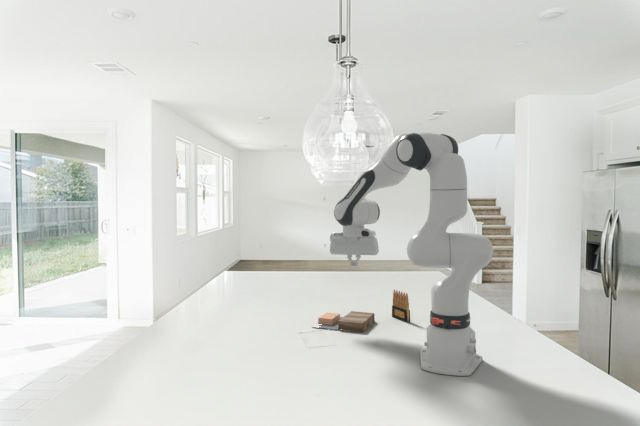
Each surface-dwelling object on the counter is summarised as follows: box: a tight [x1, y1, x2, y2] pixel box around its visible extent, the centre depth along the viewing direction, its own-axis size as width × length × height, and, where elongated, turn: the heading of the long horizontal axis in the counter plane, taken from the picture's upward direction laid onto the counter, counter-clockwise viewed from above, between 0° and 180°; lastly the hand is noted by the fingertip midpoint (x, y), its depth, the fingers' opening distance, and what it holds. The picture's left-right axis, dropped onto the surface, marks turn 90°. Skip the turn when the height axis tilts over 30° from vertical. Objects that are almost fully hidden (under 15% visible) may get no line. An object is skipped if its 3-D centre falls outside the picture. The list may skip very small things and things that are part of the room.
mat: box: [318, 316, 344, 331], centre depth 171 cm, size 18×11×1 cm, turn 157°
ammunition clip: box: [391, 289, 411, 324], centre depth 175 cm, size 11×2×12 cm, turn 24°
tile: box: [317, 312, 341, 325], centre depth 172 cm, size 9×6×2 cm, turn 157°
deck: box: [338, 310, 376, 333], centre depth 167 cm, size 16×10×4 cm, turn 157°
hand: (354, 265), depth 171 cm, fingers closed
